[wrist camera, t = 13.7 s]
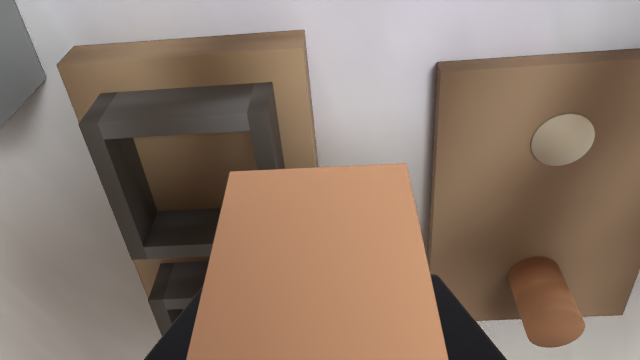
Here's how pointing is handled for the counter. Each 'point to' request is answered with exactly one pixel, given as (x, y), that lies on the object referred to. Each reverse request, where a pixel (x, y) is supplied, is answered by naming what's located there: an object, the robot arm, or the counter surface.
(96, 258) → the counter surface
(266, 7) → the counter surface
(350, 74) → the counter surface
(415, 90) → the counter surface
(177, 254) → the socket board
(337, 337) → the tan rectangular block
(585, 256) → the plate
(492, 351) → the robot arm
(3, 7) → the housing
